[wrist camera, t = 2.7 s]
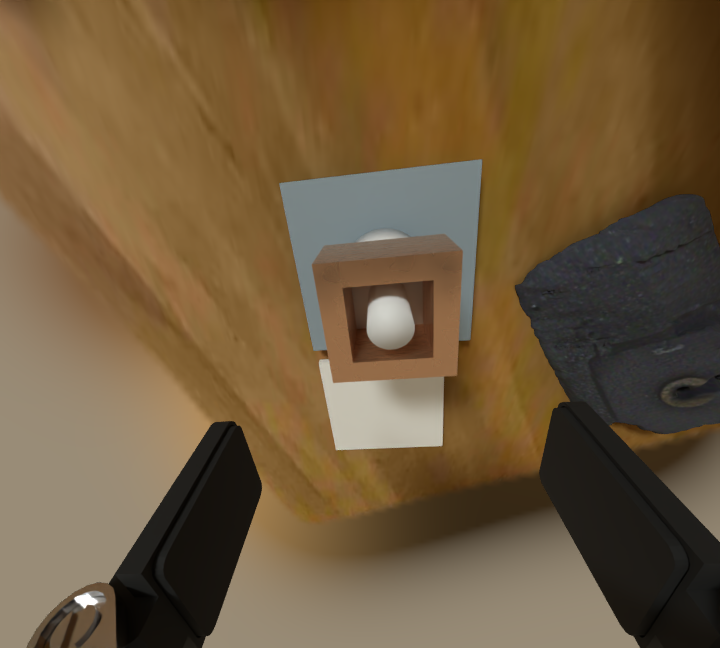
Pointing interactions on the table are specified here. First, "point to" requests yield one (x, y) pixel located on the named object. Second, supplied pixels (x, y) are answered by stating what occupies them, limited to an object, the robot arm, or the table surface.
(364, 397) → the white mat
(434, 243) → the copper link
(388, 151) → the table surface
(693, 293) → the dark pouch with grommet
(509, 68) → the table surface
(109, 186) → the table surface
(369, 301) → the post stand
